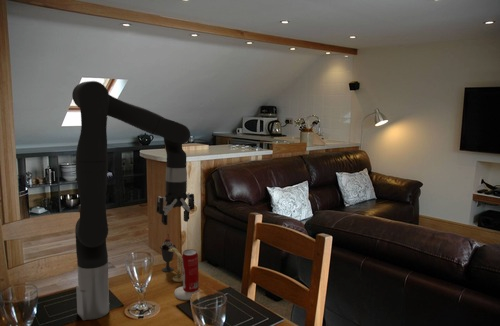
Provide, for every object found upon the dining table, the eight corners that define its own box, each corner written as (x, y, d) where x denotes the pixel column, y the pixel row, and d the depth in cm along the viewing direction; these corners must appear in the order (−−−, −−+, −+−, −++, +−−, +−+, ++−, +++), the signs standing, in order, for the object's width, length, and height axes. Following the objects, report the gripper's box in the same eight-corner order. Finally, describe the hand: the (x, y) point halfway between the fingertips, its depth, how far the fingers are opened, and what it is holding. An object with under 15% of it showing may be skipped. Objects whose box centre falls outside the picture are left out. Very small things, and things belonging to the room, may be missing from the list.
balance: (182, 287, 150) (182, 257, 149) (165, 275, 160) (165, 247, 159) (193, 283, 154) (193, 254, 152) (176, 272, 164) (176, 245, 162)
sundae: (170, 265, 171) (170, 232, 168) (178, 270, 165) (178, 236, 163) (156, 269, 166) (156, 234, 164) (164, 274, 161) (164, 239, 159)
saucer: (182, 302, 139) (182, 299, 139) (170, 293, 146) (170, 290, 145) (204, 295, 145) (204, 292, 144) (191, 286, 151) (191, 283, 151)
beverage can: (200, 286, 149) (200, 248, 146) (196, 294, 142) (196, 255, 140) (184, 285, 149) (185, 247, 147) (180, 293, 143) (180, 254, 141)
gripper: (163, 182, 135) (162, 228, 137) (198, 179, 144) (197, 222, 146) (153, 179, 141) (153, 223, 143) (188, 176, 150) (187, 217, 152)
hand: (175, 222), depth 144 cm, fingers open, 8 cm apart
